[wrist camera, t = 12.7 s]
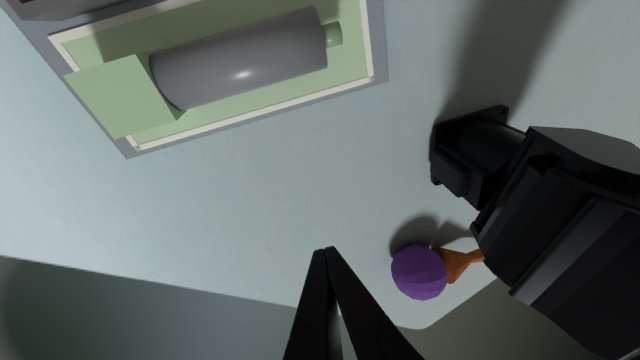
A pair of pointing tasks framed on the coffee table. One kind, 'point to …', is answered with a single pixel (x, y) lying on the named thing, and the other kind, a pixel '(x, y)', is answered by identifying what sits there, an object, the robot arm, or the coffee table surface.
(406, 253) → the kendama
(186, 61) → the marker
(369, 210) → the coffee table surface
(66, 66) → the grey compartment tray
